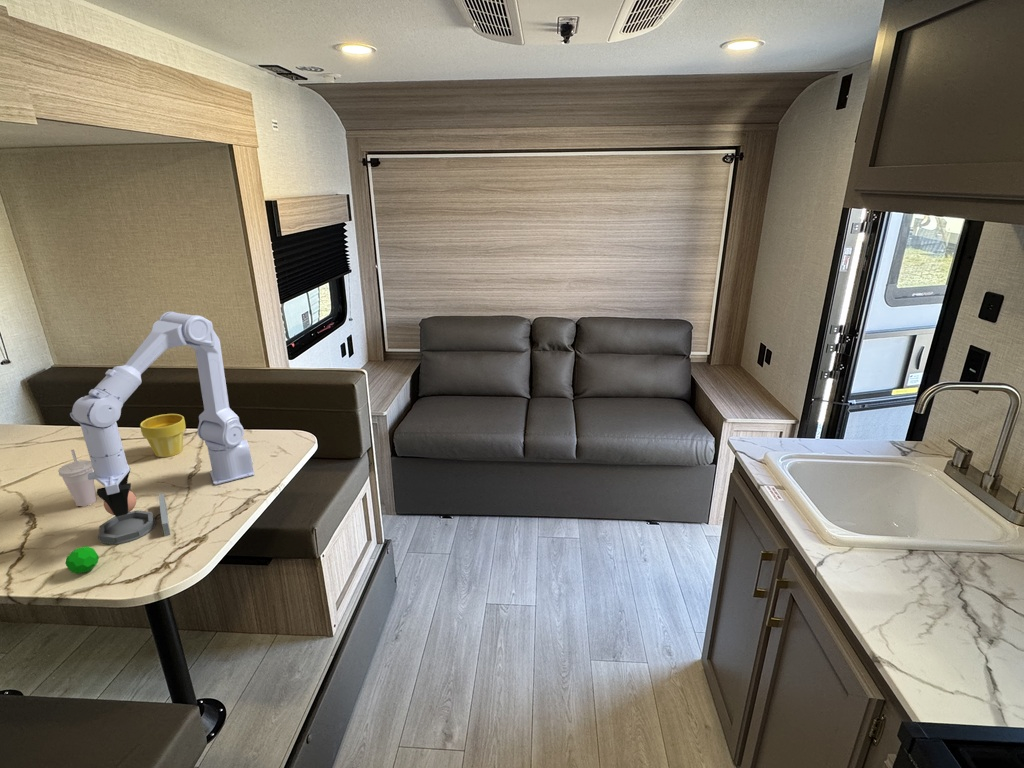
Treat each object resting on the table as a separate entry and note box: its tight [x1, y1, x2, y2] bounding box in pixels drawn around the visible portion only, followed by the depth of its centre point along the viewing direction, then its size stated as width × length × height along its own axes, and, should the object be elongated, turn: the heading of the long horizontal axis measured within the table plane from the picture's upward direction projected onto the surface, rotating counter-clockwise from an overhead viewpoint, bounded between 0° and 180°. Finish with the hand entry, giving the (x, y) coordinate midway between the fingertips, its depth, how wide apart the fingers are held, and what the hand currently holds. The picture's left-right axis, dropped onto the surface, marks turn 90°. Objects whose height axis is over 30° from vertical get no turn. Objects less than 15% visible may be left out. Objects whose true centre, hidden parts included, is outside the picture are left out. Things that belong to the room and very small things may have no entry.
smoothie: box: [57, 449, 97, 507], centre depth 123 cm, size 6×6×14 cm
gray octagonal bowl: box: [98, 509, 157, 546], centre depth 116 cm, size 10×10×2 cm
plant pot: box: [139, 413, 187, 458], centre depth 148 cm, size 10×10×10 cm
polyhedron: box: [64, 546, 100, 575], centre depth 103 cm, size 5×5×5 cm
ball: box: [103, 490, 137, 516], centre depth 114 cm, size 6×6×6 cm
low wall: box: [158, 493, 171, 537], centre depth 119 cm, size 1×14×3 cm, turn 35°
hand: (121, 507), depth 114 cm, fingers closed on ball, 5 cm apart
